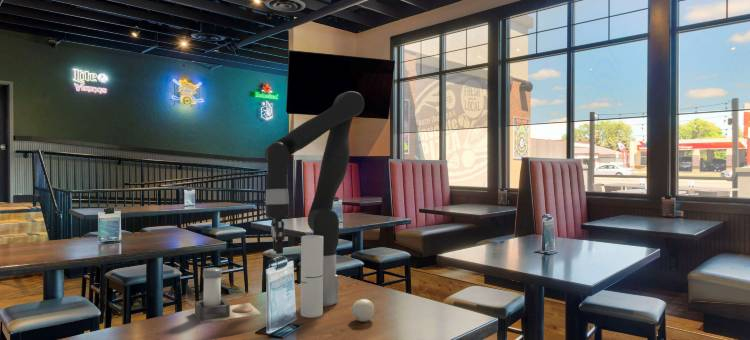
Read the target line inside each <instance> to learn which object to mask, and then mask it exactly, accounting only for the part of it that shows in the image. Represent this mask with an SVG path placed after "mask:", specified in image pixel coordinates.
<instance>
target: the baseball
mask: <svg viewBox="0 0 750 340" xmlns="http://www.w3.org/2000/svg"><path fill="white" fill-rule="evenodd" d="M350 314H351V316H353V317H354V319H355V320H356V321H358V322H361V323H362V322H363V323H366V322H368V321H370V320H371V319H372V318H373V317H374V315H375V306H374V304H373V302H372V301H371V300H369V299H367V298H361V299H358V300H356V301H355V302H354V303H353V305H351V308H350Z"/></svg>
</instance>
